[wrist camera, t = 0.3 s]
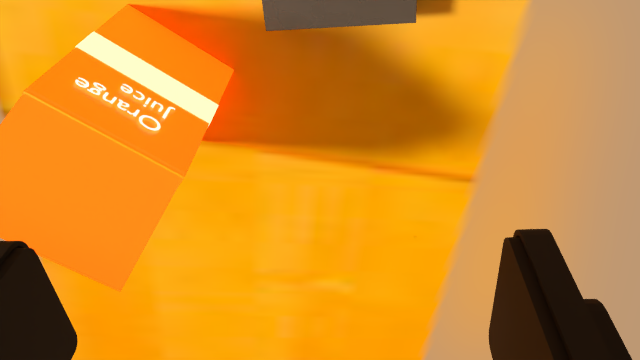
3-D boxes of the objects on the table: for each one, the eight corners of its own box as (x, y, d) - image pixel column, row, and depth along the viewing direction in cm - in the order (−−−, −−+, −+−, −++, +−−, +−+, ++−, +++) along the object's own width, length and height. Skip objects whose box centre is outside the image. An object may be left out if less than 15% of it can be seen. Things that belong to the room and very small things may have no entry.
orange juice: (127, 1, 38) (-48, 145, 21) (236, 69, 40) (155, 244, 24) (89, 85, 41) (-83, 262, 25) (191, 141, 44) (95, 336, 27)
